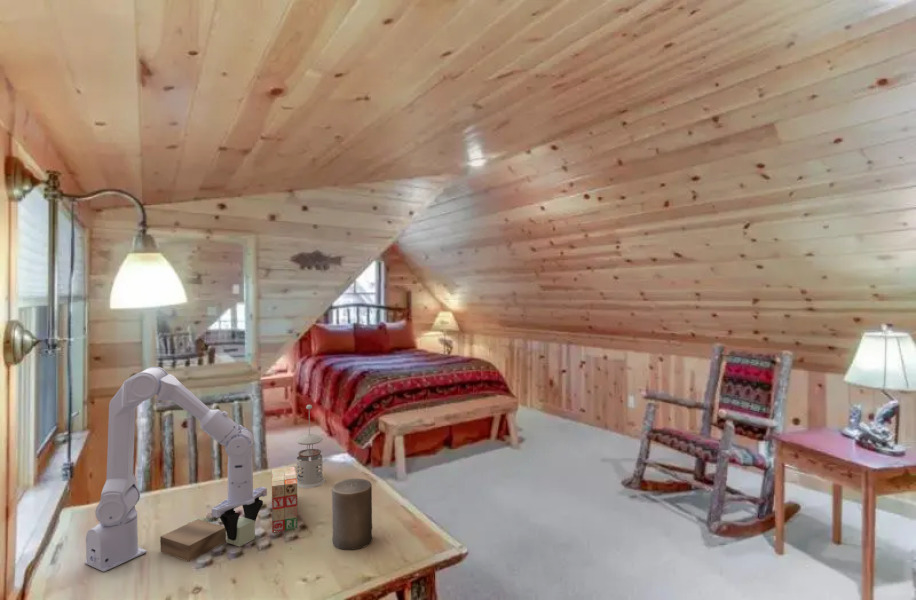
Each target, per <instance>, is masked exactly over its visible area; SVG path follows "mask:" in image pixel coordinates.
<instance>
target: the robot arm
mask: <svg viewBox="0 0 916 600" xmlns="http://www.w3.org/2000/svg"><path fill="white" fill-rule="evenodd" d="M155 396H156V399H155V401H170V402H173V403H174V404H175V405H178V406H179V407H180V408H182V409H183V410H184V411H186V412H187V413H188V414H190V415H191V416H192V417H194V418H195V419H197V420H198V421H199V423H200V426H199V427H200V430H202V431H203V432H204V433H205V434H207V435H208V436H210V437H211V438H212V439H214V441H216V443H218V444H219V445H221V446H224V452H225V453H226V455H227V498H226V499H224V500H223V501H221V502H220V503H218V504H217V505H216V506H213V507H212V508H211V517H212V518H213V517H214V518H219V519H220V521H221V523H222V524H223V526H224V527H225V529H226V537H227V536H228V539H230V540H233V541H234V540H236V537H237V523H238V519H239V518H240V517H241V516H240V515H241V513H238V512H236V510H235V509H236V508H239V507H241V506H242V510H243V515H244V516H243V517H245V518H248V519H251V520H255V522H256V521H257V519H258V515H259V512H260V510H261V508H262V507H263V505H264V501H263V500H262V499H260V498H262V497H267V495H268V488H267V487H265V486H260V487H257V488H254V483H253V482H254V471H253V470H254V467H253V466H254V464H253V462H254V460H253V452H252V451H253V450H252V447H253V444H254V434H253V432H251V431H250V429H249V428H247V427H244V426H243V425H242V424H238V423H236V422H235V421H234V420H233V419H231V418H230V417H229V416H228V415H229V412H227V411H226V410H223V411H222V410H220V409H218V408H217V409H211V408H209V406H207V405H206V404H205V403H204V402H202V401H201V400H200V399H199V398H198V397H197V396H196V395H194V393H192V391H190V390H189V389H188V388H187V387H186V386H184V384H182V383H181V381H180V380H178V379H177V378H176V376H174V375H173V374H170V373H169V374H168V372H167V370H166V369H164V368H162V367H161V366H150V367H147V368H145V369H144V370H142V371H141V372H138V373H135V374H133V375H131V376H130V377H129V378H127V379H125V380H124V381H123V383H122V385H121V386H120V388H119V389H118V390H117V392H116V393H115V394H114V396H113V397H112V398H111V399H110V401H109V404H108V405H109V406H108V424H107V425H108V428H107V455H106V456H107V457H106V480H105V482H104V485H103V487H102V491H101V494H100V501H99V502H98V504H97V506H96V508H95V511H94V512H95V518H96V519H97V521H98V522H99V523H98V524H97V525H95V526H93V527H92V528H90V529H88V530H87V532H86V536H85V552H86V557H85V561H84V564H86V565H88V566H90V567H92V568H94V569H97V570H99V571H100V572H107V571H109V570H111V569H113V568H115V567H118V566H119V565H122V564H124V563H127V562H129V561H131V560H132V559H136V558H137V557H139V556H142V555H143V554H146V552H147V549H144V548H142V547H140V546H139V540H138V539H139V538H138V532H139V531H138V511H137V509H136V505H137V504H138V503H139V501H140V498H141V491H140V489H139V487H138V486H137V477H136V476H135V474H134V462H135V461H134V455H135V436H136V435H135V432H136V428H135V427H136V408H137V407H138V406H139V405H141V404H143V403H144V402H145V401H149V399H152V398H153V397H155Z"/></svg>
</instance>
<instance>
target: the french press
mask: <svg viewBox="0 0 916 600" xmlns="http://www.w3.org/2000/svg"><path fill="white" fill-rule="evenodd" d="M305 408H306V409H307V410H308V433H307V434H304V435H301V436H300V437H298V438H297V439H296V440H295V441H296V443H297V444H298V445H301V446H302V445H303V446H306V449H301V450H300V451H298V453H297V454H298V456H297V457H296V477H297V488H298V487H299V488H300V489H312V488H317V487H321V486H322V485H324V484H325V483H326V481H325V480H326V479H325V477H323V455H322V454H321V453H322V450H321V449H319V448H314V445H316V444H319V443H321V442H323V440H324V439H323V437H322V436H320V435H317V434H314V433H311V432H310V431H311V429H310V428H311V426H310V425H311V424H310V423H311V422H310V421H311V420H310V419H311V417H310V414H311V413H310V410H311V409H313V405H312V404H307V405H306V407H305ZM309 459H310V460H309ZM323 483H324V484H323Z"/></svg>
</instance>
